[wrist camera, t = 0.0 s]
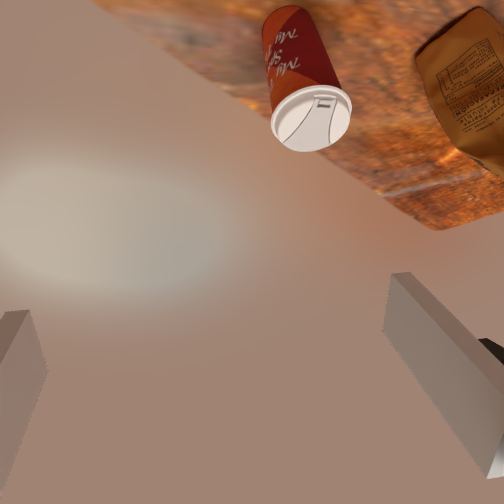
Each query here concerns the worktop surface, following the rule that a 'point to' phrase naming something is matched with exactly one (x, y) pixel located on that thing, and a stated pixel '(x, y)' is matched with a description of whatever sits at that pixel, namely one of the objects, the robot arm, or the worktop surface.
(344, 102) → the paper cup
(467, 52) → the coffee package
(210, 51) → the worktop surface
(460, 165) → the worktop surface
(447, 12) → the worktop surface
